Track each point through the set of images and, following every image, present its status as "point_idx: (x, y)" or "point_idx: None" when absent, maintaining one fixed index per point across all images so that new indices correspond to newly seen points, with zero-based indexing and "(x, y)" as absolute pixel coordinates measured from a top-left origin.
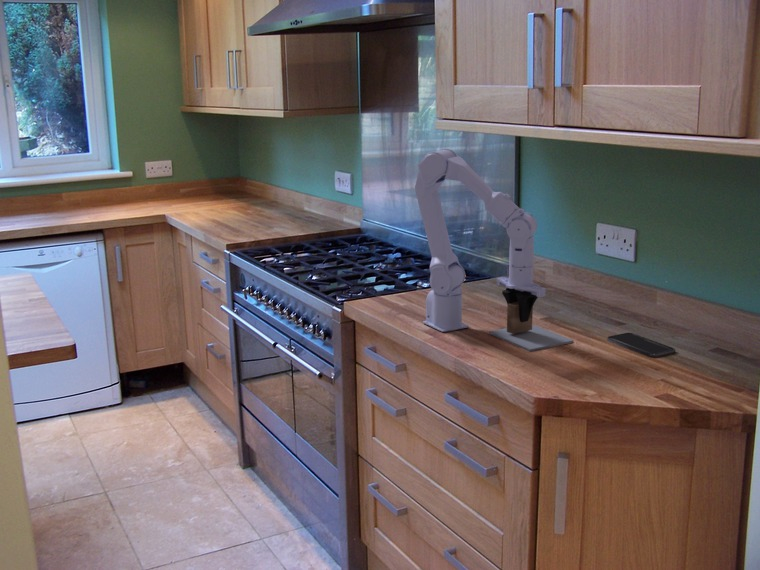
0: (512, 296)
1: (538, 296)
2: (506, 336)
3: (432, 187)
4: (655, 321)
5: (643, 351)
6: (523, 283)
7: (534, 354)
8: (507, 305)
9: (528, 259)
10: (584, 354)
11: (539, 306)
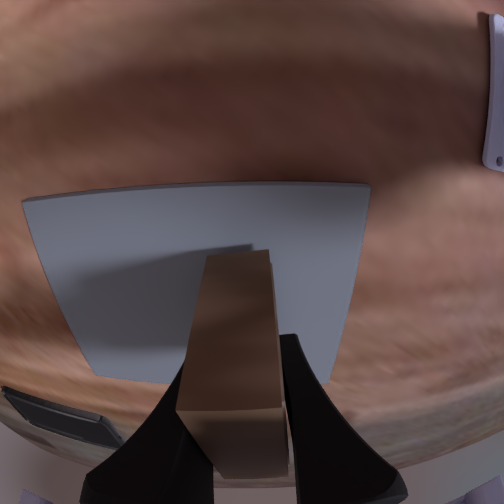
0: (297, 484)
1: (26, 494)
2: (234, 216)
3: None
4: None
5: (14, 395)
6: None
7: (2, 197)
8: (281, 394)
9: None
10: (4, 322)
11: (414, 430)
